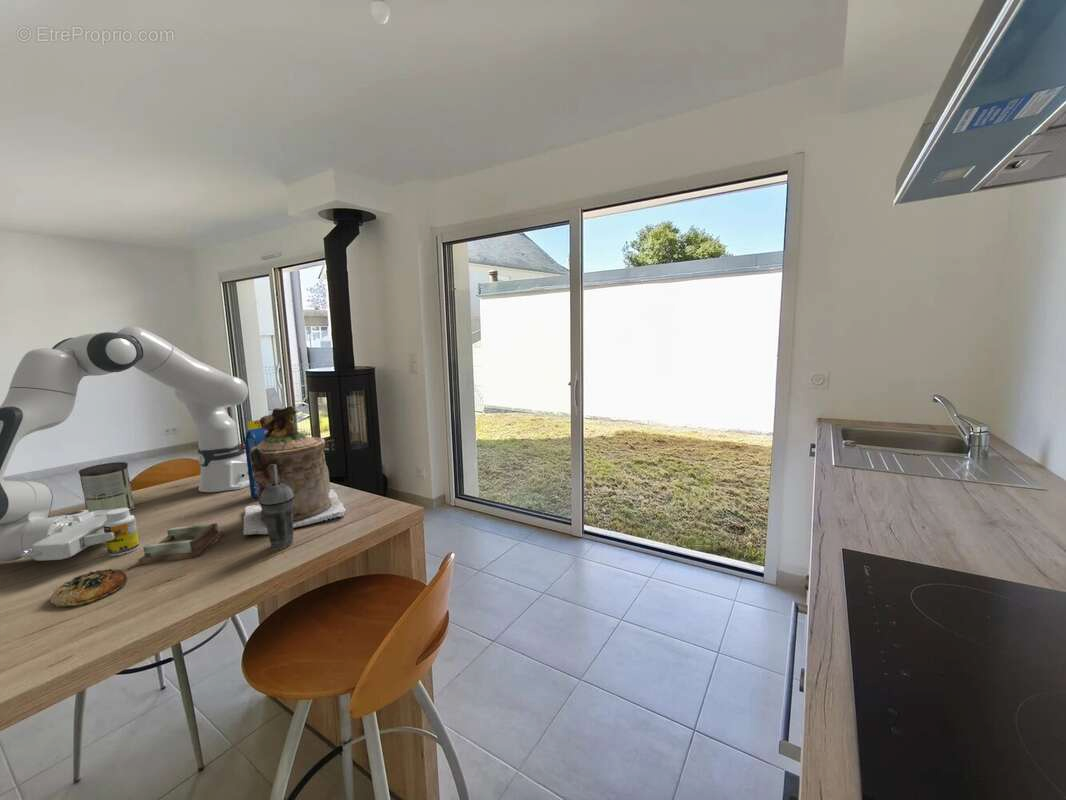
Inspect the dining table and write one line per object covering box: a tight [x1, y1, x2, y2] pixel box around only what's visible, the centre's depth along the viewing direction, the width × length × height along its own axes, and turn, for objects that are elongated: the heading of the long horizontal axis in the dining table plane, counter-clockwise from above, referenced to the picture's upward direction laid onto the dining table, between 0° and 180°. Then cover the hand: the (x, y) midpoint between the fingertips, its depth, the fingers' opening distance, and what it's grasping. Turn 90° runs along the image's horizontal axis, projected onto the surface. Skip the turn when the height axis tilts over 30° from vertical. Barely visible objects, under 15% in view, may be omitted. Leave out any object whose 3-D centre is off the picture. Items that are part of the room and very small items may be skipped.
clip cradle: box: [138, 522, 225, 564], centre depth 104 cm, size 12×12×4 cm
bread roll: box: [50, 568, 128, 608], centre depth 86 cm, size 11×11×5 cm
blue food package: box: [244, 419, 268, 500], centre depth 141 cm, size 6×12×25 cm, turn 152°
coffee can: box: [78, 461, 135, 512], centre depth 128 cm, size 10×10×14 cm
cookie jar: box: [242, 405, 346, 537], centre depth 122 cm, size 25×25×32 cm
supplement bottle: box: [103, 508, 140, 557], centre depth 103 cm, size 6×6×10 cm
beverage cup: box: [259, 464, 294, 550], centre depth 103 cm, size 7×7×20 cm
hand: (125, 529), depth 103 cm, fingers closed on supplement bottle, 5 cm apart
